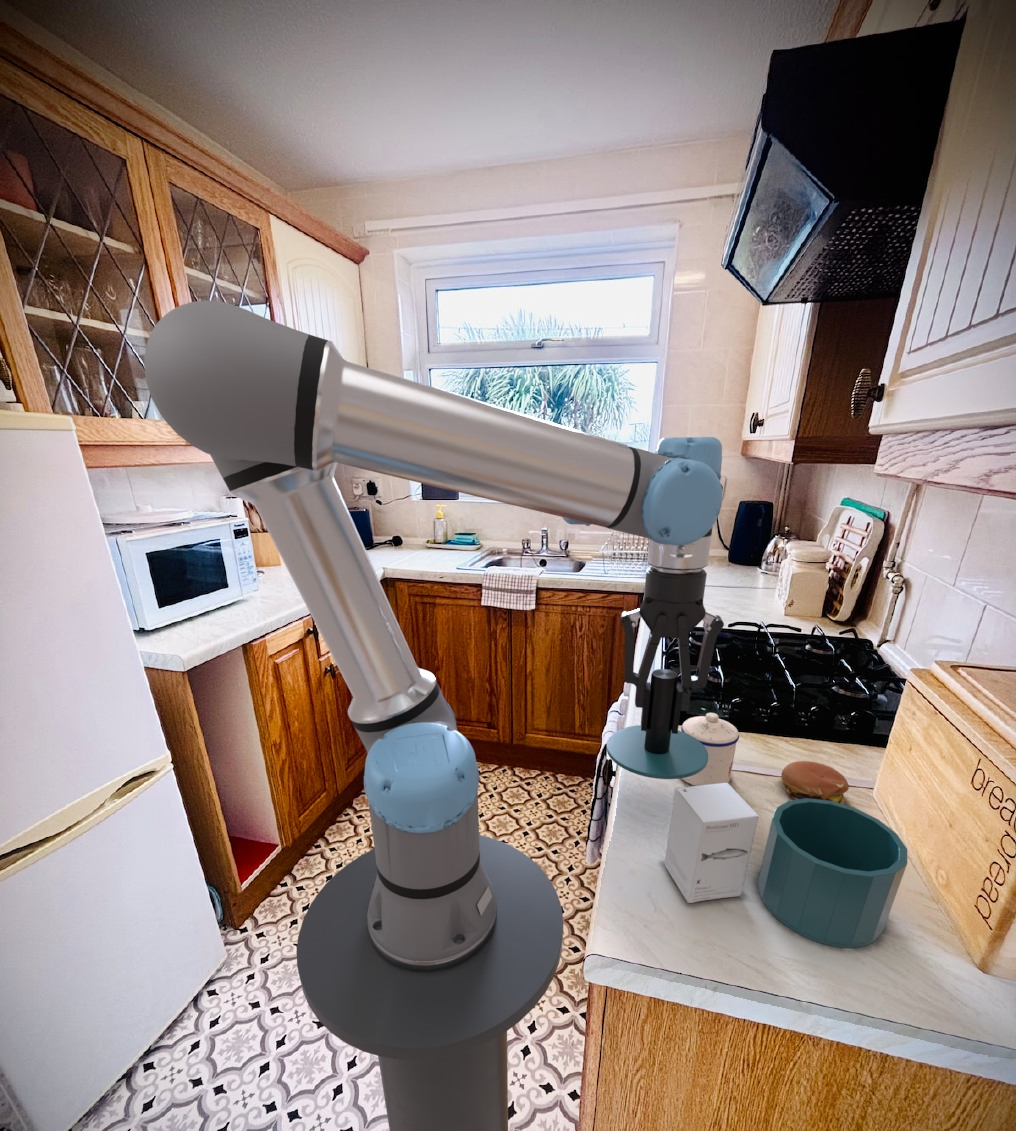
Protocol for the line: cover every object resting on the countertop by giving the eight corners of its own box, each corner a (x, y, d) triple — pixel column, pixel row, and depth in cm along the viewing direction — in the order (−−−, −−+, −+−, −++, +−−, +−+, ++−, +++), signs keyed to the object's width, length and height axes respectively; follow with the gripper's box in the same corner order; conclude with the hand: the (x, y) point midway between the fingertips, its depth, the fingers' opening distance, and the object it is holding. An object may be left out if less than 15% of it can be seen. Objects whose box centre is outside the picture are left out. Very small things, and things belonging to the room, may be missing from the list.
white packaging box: (687, 905, 67) (701, 822, 62) (662, 863, 74) (673, 785, 69) (743, 898, 68) (760, 815, 63) (713, 857, 75) (727, 780, 70)
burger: (789, 771, 94) (795, 748, 92) (850, 792, 89) (857, 768, 87) (770, 797, 88) (776, 772, 86) (835, 822, 82) (842, 796, 80)
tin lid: (604, 777, 76) (610, 691, 71) (607, 727, 89) (613, 652, 84) (713, 788, 73) (728, 700, 68) (701, 736, 86) (712, 658, 81)
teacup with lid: (741, 788, 90) (752, 726, 85) (687, 791, 89) (696, 729, 84) (710, 751, 101) (719, 694, 96) (662, 753, 100) (669, 696, 95)
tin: (771, 936, 63) (789, 865, 59) (748, 856, 75) (762, 793, 71) (903, 957, 60) (931, 884, 56) (857, 870, 72) (877, 805, 68)
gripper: (610, 571, 68) (599, 735, 77) (751, 576, 65) (722, 746, 74) (611, 560, 75) (602, 711, 84) (739, 563, 72) (715, 721, 81)
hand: (658, 727), depth 79 cm, fingers closed on tin lid, 4 cm apart
